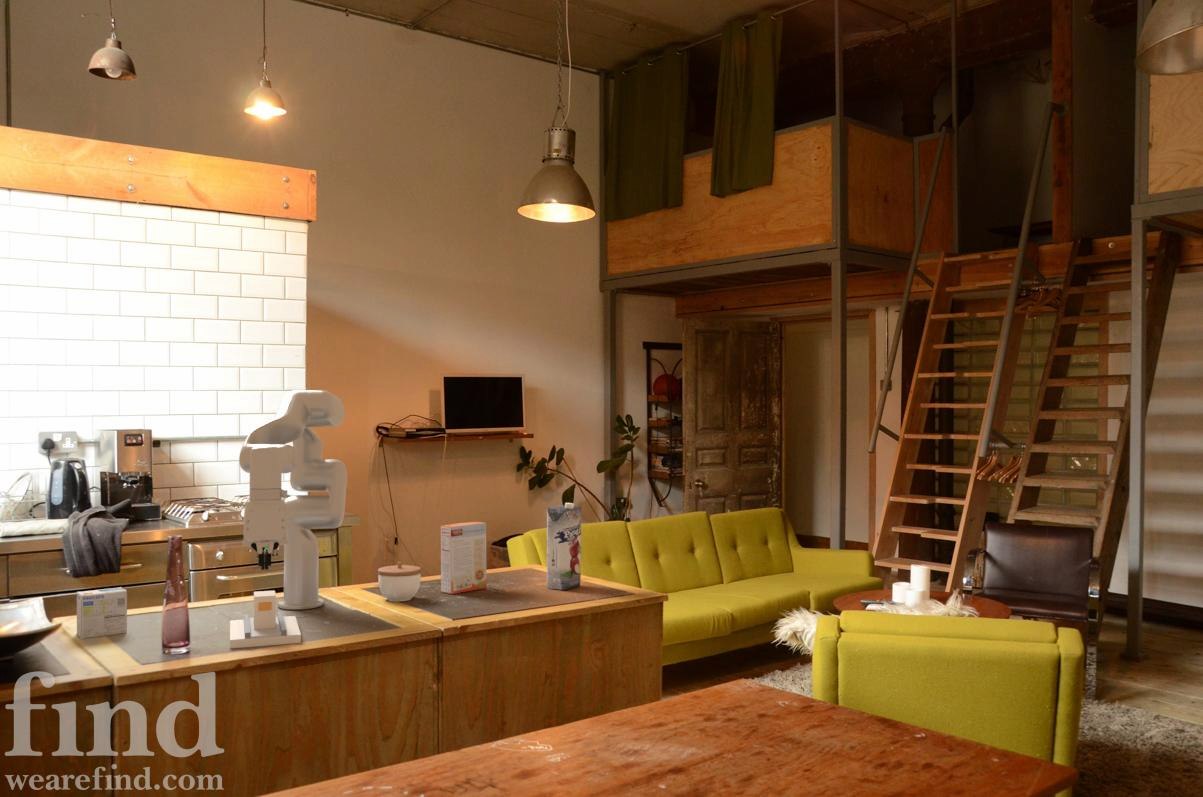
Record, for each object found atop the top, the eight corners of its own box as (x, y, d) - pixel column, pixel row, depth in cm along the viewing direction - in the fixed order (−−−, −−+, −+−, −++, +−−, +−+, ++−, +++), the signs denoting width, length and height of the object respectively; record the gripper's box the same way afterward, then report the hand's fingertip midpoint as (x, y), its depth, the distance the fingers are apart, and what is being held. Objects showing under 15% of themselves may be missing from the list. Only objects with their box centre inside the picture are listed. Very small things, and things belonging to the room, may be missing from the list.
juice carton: (542, 588, 302) (543, 503, 302) (561, 583, 311) (561, 500, 311) (566, 591, 297) (566, 504, 297) (584, 586, 306) (584, 502, 306)
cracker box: (475, 586, 305) (475, 520, 306) (487, 588, 301) (487, 522, 301) (439, 592, 295) (439, 524, 296) (451, 594, 291) (451, 526, 291)
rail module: (253, 623, 241) (253, 591, 241) (274, 622, 243) (274, 590, 243) (254, 629, 234) (254, 597, 234) (275, 628, 236) (275, 595, 236)
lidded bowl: (414, 593, 293) (415, 557, 293) (425, 601, 281) (426, 563, 281) (373, 597, 287) (373, 560, 287) (382, 605, 276) (383, 566, 276)
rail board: (229, 628, 246) (230, 615, 246) (295, 623, 251) (295, 610, 252) (229, 648, 225) (230, 634, 225) (300, 642, 231) (300, 628, 231)
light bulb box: (121, 628, 245) (122, 586, 246) (128, 633, 240) (128, 590, 240) (75, 634, 239) (75, 591, 239) (80, 639, 234) (80, 595, 234)
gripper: (295, 493, 245) (295, 565, 245) (233, 495, 239) (232, 568, 239) (297, 495, 238) (297, 569, 238) (233, 497, 232) (232, 573, 232)
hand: (264, 568), depth 238 cm, fingers closed
